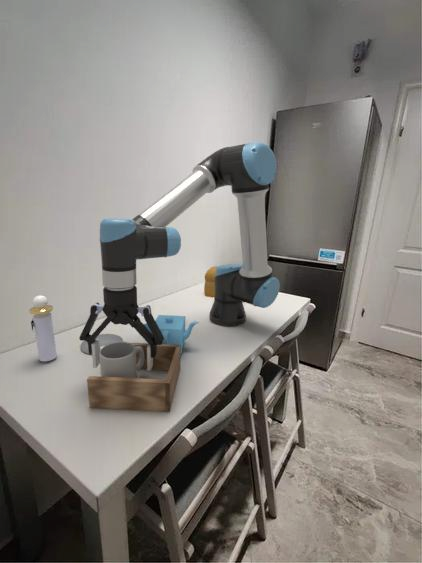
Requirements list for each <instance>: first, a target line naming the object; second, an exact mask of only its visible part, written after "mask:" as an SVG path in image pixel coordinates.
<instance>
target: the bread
mask: <svg viewBox="0 0 422 563" xmlns="http://www.w3.org/2000/svg"><path fill="white" fill-rule="evenodd" d="M218 266H219V265H218ZM218 266H212V267H210V268H209V269H207V271H206V272H205V274H204V290H203V293H204V297H208V298H213V297H214V294H215V272H216V268H217V267H218Z"/></svg>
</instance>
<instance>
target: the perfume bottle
mask: <svg viewBox="0 0 422 563" xmlns="http://www.w3.org/2000/svg"><path fill="white" fill-rule="evenodd" d="M48 303H49V300H48V298H47V297H46V296H45V295H40V294H39V295H36V296H35V297H34V298H33V299H32V305H33V306H32V307H31V308H29V309H28V312H29V314H31V315H32V320H31V321H30V324H31V331H34V333H35V340H36V346H37V354H38V360H39V361H41V362H49V361H53V360H54V359H56V358H57V356H58V355H57V354H58V353H57V348H56V345H57V344H56V341H55V340H56V337H55V331H54V322H53V315H52V313H51V312H52V311H54V306H53V305H50V304H48Z"/></svg>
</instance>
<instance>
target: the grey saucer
mask: <svg viewBox="0 0 422 563" xmlns="http://www.w3.org/2000/svg"><path fill="white" fill-rule="evenodd" d="M96 339H99V344H100V350H101V349H102V348H103V347H104V346H106V345H108V344H111V343H115V342H124V340H123V337H121V336H120V335H118V334H113V333H100V334H99V335H98V336H97V337H96V338H95V340H96ZM79 348H80V351H81V352H82V353H83V354H85V355H90V356H92V354H89V350H88V343H87V341H84V340H83V341H81V343H80V346H79Z"/></svg>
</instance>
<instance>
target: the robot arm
mask: <svg viewBox="0 0 422 563" xmlns="http://www.w3.org/2000/svg"><path fill="white" fill-rule="evenodd" d="M276 173H277V161H276V156H275V153H274V152H273V150H272V149H271V148H270V146H269V145H268V144H267V143H264V142H259V141H258V142H248V143H243V144H237V145H232V146H226V147H223V148H220V149H218V150H216V151H214V152H213V153H212V154H210V155H209V156H207V157H206V158H204V159H203V160H202V161H200V162H199V163H198V164H197V165H195V166H194V167H193V168H192V173H190V174H189V175H188V176H187V177H185V178H184V179H183V180H181V181H180V182H179V183H177V184H176V185H175V186H174V187H172V188H171V189H169V190H168V191H166V193H165V194H163V195H162V196H161V197H159V198H158V199H157V200H155V201H154V202H153V203H151V204H150V205H149V206H148V207H147V208H145V209H144V210H142V211H141V212H140V213H139V214H137V215H136V216H135V217H133V218H131V219H130V218H116V217H115V218H113V217H112V218H104V219H102V220H101V221H100V223H99V244H100V257H101V272H102V274H101V276H102V279H101V280H102V286H103V289H102V292H103V293H102V295H103V305H102V304H100V303H99V302H95V303H94V304H93V305H91V306H90V312H89V316H88V318H87V321H86V322H85V325H84V327H83V329H82V331H81V333H80V336H79V341H80V342H83V341H87V343H88V350H89V354H92V355H91V356H92V368H93V369H97V368H98V366H99V365H100V356H99V353H100V344H99V339H96V340H95V338H96V337H97V336H98V335H100V334H102V332H103V331H104V330H105V329H106V327H108V325H109V324H110V323H112V324H113V325H122V326H124V325H125V326H127V325H130V327H131V328H133V329H135V331H136V332H137V333H138V334H139V335H140V336H141V337H142V338H143V339H144V341H145V343H148V346H147V369H146V371H147V372H151V371H152V370H153V369H152V366H153V358H155V356H156V354H157V345H161V344H162V343H163V340H164V337H163V335H162V333H161V331H160V329H159V327H158V325H157V323H156V321H155V320H156V319H155V318H154V316H153V313H152V308H151V305H148V304H147V305H146V306H140V307H139V304H138V291H137V290H138V288H137V286H136V285H137V260H145V259H147V260H148V259H156V258H157V259H158V258H168V257H169V258H170V257H173V256H176V255H178V253H179V252H180V249H181V247H182V238H181V235H180V233H179V231H178V230H177V229H176V228H174V227H171V226H169V225H170V224H171V223H173V221H175V220H176V219H177V218H178V217H179V216H180V215H182V214H183V213H184V212H185V211H186V210H188V209H189V208H191V206H192V205H193V204H195V203H196V202H198V200H200V199H201V198H202V197H203V196H205V195H206V194H211V193H213V192H214V191H216V190H217V189H219V188H223V187H225V186H227V187H228V186H229V187H231V193H232V195H233V196H235V197H236V199H237V210H238V212H237V213H238V221H239V224H238V225H239V235H240V246H241V256H242V257H241V258H242V260H241V261H242V264H241V263H239V264H238V263H231V264H228V263H227V264H222V265H218V267H217V268H216V272H215V294H214V300H213V303H212V306H211V309H210V312H209V321H210V322H211V323H212V324H215V325H218V326H222V327H237V326H242V325H243V324H245V323H246V320H247V314H246V310H245V307H244V306H245V305H244V303H245V302H246V304H249V305H252V306H254V307H258V308H262V309H267V308H268V307H270V306H271V305H272V304H273V303H274V302H275V301H276V299H277V297H278V296H279V292H280V288H281V287H280V286H281V284H280V281H279V279H278V278H277V277H275V276H273V268H272V267H271V266H270V265H269V264H268V247H267V246H268V245H267V223H266V206H265V205H266V204H265V203H266V200H265V195H266V193H267V192H268V191H269V190H270V184H271V183H272V182H273V181H274V180H275V178H276V177H275V176H276ZM102 312H103V314H104V315H105V316H106V318H105V319H104V320H103V321H102V322H101V323H100V325H99V326H98V327H97V328H96V330H94V331H93V333H92V334H90V333H91V332H92V329H93V327H94V325H95V323H96V320H97V318H98V317H99V314H101V313H102ZM138 314H140V316H141V317H143V319H144V321H145V323H143V322H142V320H141V319H140V316H138ZM146 323H147V325H148V327H149V329H150V331H151V332H152V333H151V332H150V331H149V330H148V329H147V328H146V327H145V325H144V324H146Z"/></svg>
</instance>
